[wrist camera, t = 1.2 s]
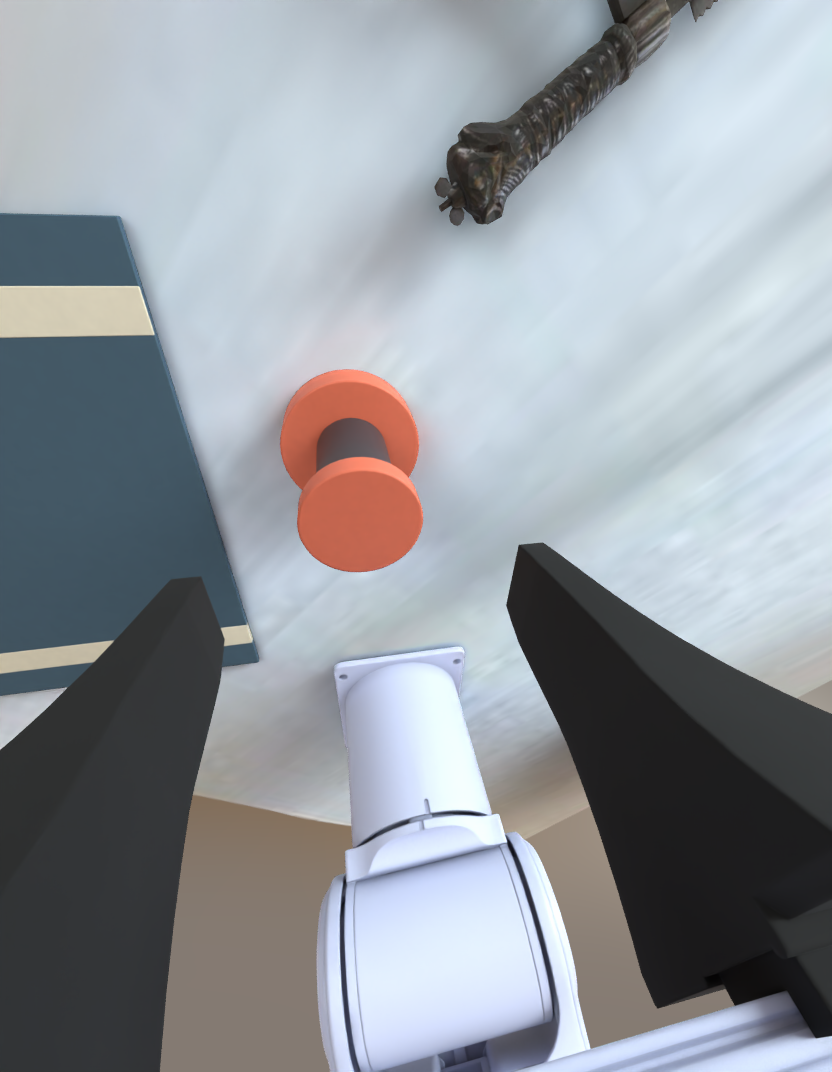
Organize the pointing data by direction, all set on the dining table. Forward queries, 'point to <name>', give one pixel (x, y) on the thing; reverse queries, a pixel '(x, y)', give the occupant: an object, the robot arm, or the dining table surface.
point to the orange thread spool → (353, 470)
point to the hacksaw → (551, 111)
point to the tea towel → (91, 458)
